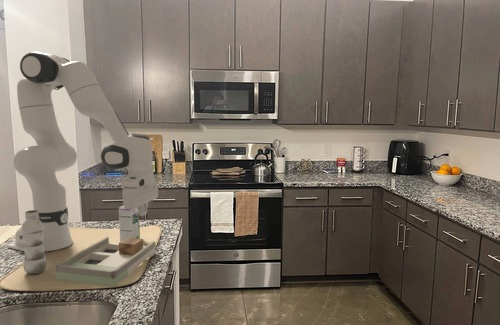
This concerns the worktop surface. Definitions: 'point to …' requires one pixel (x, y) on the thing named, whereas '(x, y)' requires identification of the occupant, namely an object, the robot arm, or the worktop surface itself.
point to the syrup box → (129, 223)
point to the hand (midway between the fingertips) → (142, 215)
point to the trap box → (102, 264)
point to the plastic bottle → (33, 243)
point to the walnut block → (130, 246)
